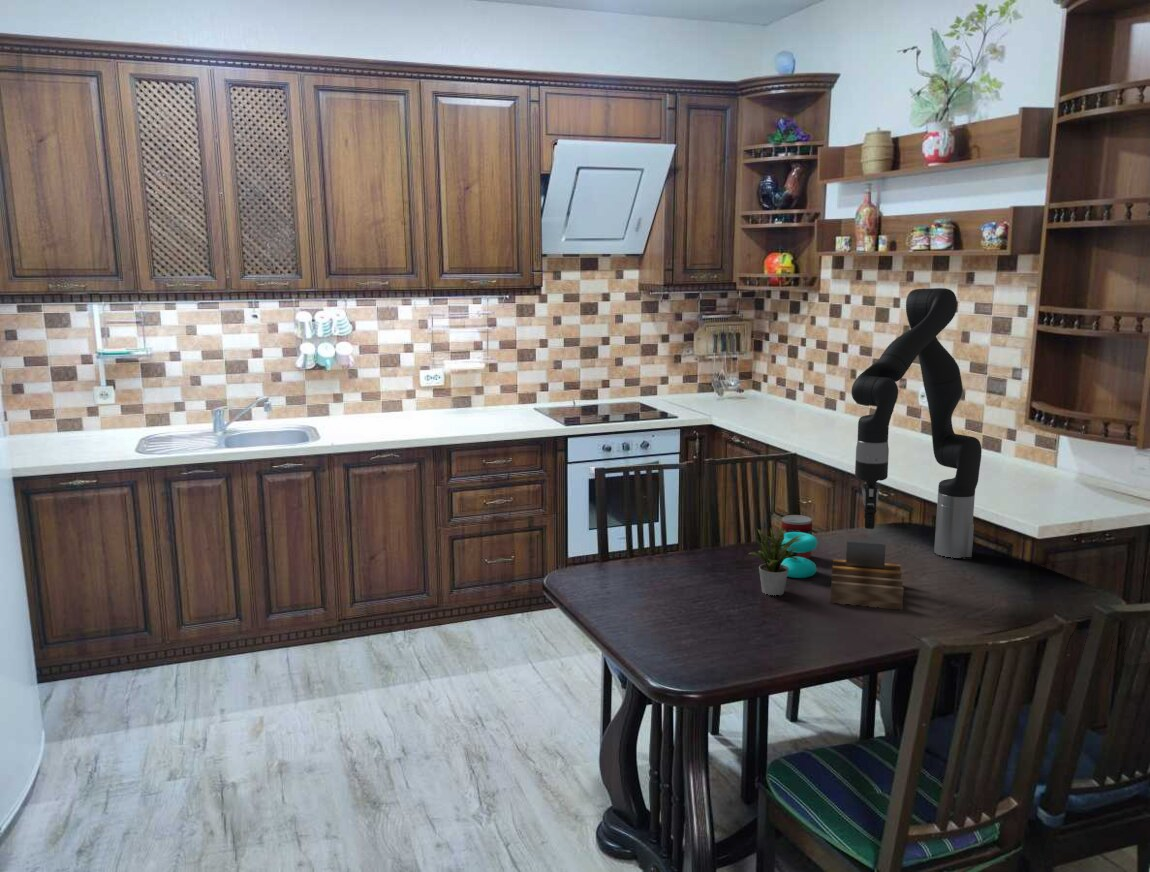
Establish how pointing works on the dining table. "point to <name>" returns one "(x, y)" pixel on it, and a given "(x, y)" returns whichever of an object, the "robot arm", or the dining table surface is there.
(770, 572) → the house plant
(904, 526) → the dining table surface
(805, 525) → the canned food
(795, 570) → the turquoise curved double lobe
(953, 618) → the dining table surface
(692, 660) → the dining table surface
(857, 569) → the slotted rack
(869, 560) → the metal panel
